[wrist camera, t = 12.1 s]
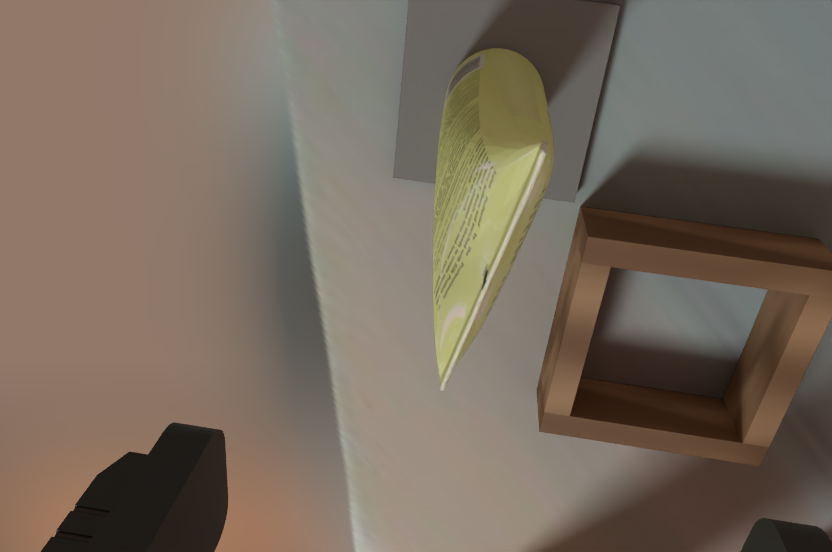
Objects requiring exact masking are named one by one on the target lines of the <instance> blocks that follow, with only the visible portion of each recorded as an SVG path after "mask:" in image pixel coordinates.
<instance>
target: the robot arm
mask: <svg viewBox="0 0 832 552" xmlns="http://www.w3.org/2000/svg"><path fill="white" fill-rule="evenodd" d="M227 509H228V487H227V469H226V451H225V437H224V433H223V431H222V430H218V429H212V428H206V427H199V426H193V425H187V424H180V423H171V424H170V425H169V426H168V427H167V428H166V429H165V431H164V432H163V433H162V435H161V436H160V438H159V439H158V441H157V442H156V444H155V445H154V447H153V448H152V450H151V451H150V453H149V454H148V455H146V454H141V453H134V452H128V453H127V454H126V455H124V456H123V457H121V458H120V459H119V460H117V461H116V462H115V463H113V464H112V465H110V466H109V467H108V468H107V469H105V470H103V471H102V472H101V473H99V474H98V475H97V476H96V477H95V479H94V480H93V481H92V483H91V484H90V486H89V487H88V488H87V490H86V491H85V492H84V494H83V495H82V496H81V498H80V499H79V500H78V502H77V503H76V504H75V509H74V511H70V513H69V514H68V515H67V517H66V518H65V519H64V521H63V522H62V523H61V525H60V526H59V528H58V529H57V533H56V535H55V537H51V538H50V540H49V541H48V542H47V544H46V545H45V547H44V548H43V549H42V551H41V552H214V551H215V549H216V547H217V545H218V542H219V540H220V537H221V534H222V531H223V528H224V524H225V520H226V515H227ZM741 552H832V543H831V541H830V539H829V538H828V536H827V534H826V533H825V532H824V531H823V530H822V529H820V528H819V527H817V526H810V525H804V524H798V523H792V522H785V521H779V520H773V519H766V518H762V519H759V520H758V521H757V522H756V523H755V524H754V526H753V528H752V530H751V532H750V534H749V536H748V538H747V540H746V542H745V544H744V546H743V548H742V550H741Z"/></svg>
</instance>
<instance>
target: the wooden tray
mask: <svg viewBox="0 0 832 552" xmlns="http://www.w3.org/2000/svg"><path fill="white" fill-rule="evenodd" d="M611 267H614V268H621V269H628V270H635V271H642V272H649V273H656V274H663V275H670V276H677V277H684V278H691V279H698V280H705V281H712V282H719V283H726V284H733V285H740V286H748V287H755V288H762V289H768V292H767V294H766V296H765V299H764V301H763V304H762V306H761V308H760V311H759V313H758V316H757V318H756V320H755V323H754V325H753V328H752V330H751V333H750V335H749V337H748V340H747V342H746V345H745V347H744V349H743V352H742V354H741V357H740V359H739V361H738V364H737V366H736V369H735V371H734V373H733V376H732V378H731V381H730V383H729V385H728V388H727V390H726V393H725V395H724V398H723V399H717V398H711V397H704V396H698V395H691V394H685V393H678V392H671V391H665V390H658V389H652V388H645V387H639V386H632V385H625V384H619V383H612V382H606V381H599V380H593V379H586V378H580V377H581V374H582V370H583V366H584V363H585V359H586V356H587V352H588V348H589V345H590V341H591V337H592V334H593V330H594V327H595V323H596V319H597V316H598V312H599V308H600V305H601V301H602V297H603V294H604V290H605V287H606V283H607V279H608V276H609V272H610V268H611ZM831 317H832V252H831V251H830V250H829V249H828V248H827V247H826V246H825V245H824V244H823V243H822V242H821V241H820V240H819V239H812V238H805V237H797V236H790V235H783V234H775V233H768V232H761V231H754V230H746V229H739V228H732V227H725V226H717V225H710V224H703V223H695V222H688V221H681V220H674V219H666V218H659V217H652V216H644V215H637V214H630V213H623V212H615V211H608V210H601V209H594V208H586V207H580V210H579V214H578V219H577V223H576V227H575V231H574V235H573V240H572V244H571V248H570V252H569V256H568V261H567V265H566V269H565V273H564V277H563V282H562V286H561V290H560V294H559V298H558V303H557V307H556V311H555V315H554V319H553V324H552V328H551V332H550V336H549V340H548V345H547V349H546V353H545V357H544V361H543V366H542V370H541V374H540V378H539V382H538V387H537V403H538V418H539V432H545V433H552V434H558V435H564V436H571V437H577V438H584V439H590V440H596V441H603V442H609V443H615V444H622V445H628V446H634V447H641V448H647V449H653V450H660V451H666V452H673V453H679V454H685V455H692V456H698V457H704V458H711V459H717V460H723V461H730V462H736V463H742V464H749V465H755V466H760V465H761V463H762V461H763V459H764V457H765V455H766V453H767V451H768V448H769V446H770V444H771V442H772V440H773V438H774V436H775V434H776V432H777V430H778V428H779V426H780V424H781V421H782V419H783V417H784V415H785V413H786V411H787V409H788V407H789V405H790V403H791V401H792V399H793V396H794V394H795V392H796V390H797V388H798V386H799V384H800V382H801V380H802V378H803V376H804V374H805V371H806V369H807V367H808V365H809V363H810V361H811V359H812V357H813V355H814V353H815V351H816V349H817V346H818V344H819V342H820V340H821V338H822V336H823V334H824V332H825V330H826V328H827V326H828V324H829V322H830V319H831Z"/></svg>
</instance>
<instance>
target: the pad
mask: <svg viewBox="0 0 832 552" xmlns="http://www.w3.org/2000/svg"><path fill="white" fill-rule="evenodd" d="M619 10H620V6H619V5H618V4H612V3H603V2H595V1H586V0H409V3H408V15H407V26H406V37H405V49H404V60H403V72H402V83H401V95H400V106H399V118H398V129H397V141H396V152H395V164H394V175H393V178H399V179H407V180H414V181H421V182H429V183H436V167H437V156H438V145H439V136H440V128H441V121H442V115H443V109H444V104H445V98H446V93H447V89H448V86H449V83H450V80H451V78H452V76H453V74H454V72H455V71H456V69H457V68H458V67H459V65H460V64H461V63H463V62H464V61H465V60H466V59H467V58H469V57H470V56H472V55H473V54H475V53H477V52H480V51H483V50H486V49H492V48H502V49H508V50H512V51H514V52H517V53H519V54H520V55H522V56H524V57H525V58H526V59H528V60H529V61H530V62H531V63H532V64H533V66H534V67H535V68H536V70H537V71H538V73H539V75H540V77H541V80H542V83H543V86H544V91H545V95H546V100H547V105H548V110H549V115H550V121H551V127H552V134H553V139H554V140H553V142H554V163H553V169H552V173H551V177H550V181H549V184H548V186H547V189H546V192H545V194H544V197H543V198H545V199H552V200H560V201H567V202H574V203H575V199H576V194H577V190H578V186H579V181H580V177H581V173H582V169H583V164H584V160H585V156H586V151H587V147H588V143H589V138H590V134H591V130H592V126H593V121H594V117H595V113H596V108H597V104H598V100H599V96H600V91H601V87H602V83H603V78H604V74H605V70H606V65H607V61H608V57H609V53H610V48H611V44H612V40H613V35H614V31H615V27H616V22H617V18H618V14H619Z"/></svg>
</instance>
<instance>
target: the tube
mask: <svg viewBox="0 0 832 552" xmlns="http://www.w3.org/2000/svg"><path fill="white" fill-rule="evenodd" d="M553 140H554V139H553V134H552V127H551V121H550V115H549V110H548V105H547V100H546V95H545V91H544V86H543V83H542V80H541V77H540V75H539V73H538V71H537V70H536V68H535V67H534V66H533V64H532V63H531V62H530V61H529V60H528V59H526V58H525V57H524V56H522V55H520V54H519V53H517V52H514V51H512V50H508V49H502V48H492V49H486V50H483V51H480V52H477V53H475V54H473V55H472V56H470V57H469V58H467V59H466V60H465V61H464V62H463V63H461V64H460V65H459V67H458V68H457V69H456V71H455V72H454V74H453V76H452V78H451V80H450V83H449V86H448V89H447V93H446V98H445V104H444V109H443V115H442V121H441V128H440V136H439V145H438V156H437V167H436V185H435V206H434V256H433V301H434V326H435V343H436V354H437V363H438V369H439V375H440V379H441V381H440V389H441V390H442V391H443V390H444V389H445V387H446V384H447V382H448V379H449V377H450V375H451V372H452V370H453V368H454V366H455V365H456V364H457V362H458V361H459V360H460V359H461V357H462V356H463V355H464V353H465V352H466V350H467V349H468V347H469V346H470V344H471V343H472V341H473V339H474V338H475V336H476V335H477V333H478V332H479V330H480V328H481V327H482V325H483V323H484V321H485V320H486V318H487V316H488V314H489V312H490V310H491V308H492V306H493V305H494V303H495V301H496V299H497V297H498V295H499V293H500V291H501V288H502V286H503V284H504V282H505V280H506V278H507V276H508V274H509V271H510V269H511V267H512V265H513V263H514V260H515V258H516V256H517V254H518V252H519V250H520V247H521V245H522V243H523V241H524V239H525V237H526V235H527V232H528V230H529V228H530V226H531V224H532V221H533V219H534V217H535V215H536V212H537V210H538V208H539V206H540V204H541V201H542V199H543V197H544V194H545V192H546V189H547V186H548V184H549V181H550V177H551V173H552V169H553V163H554V142H553Z"/></svg>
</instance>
